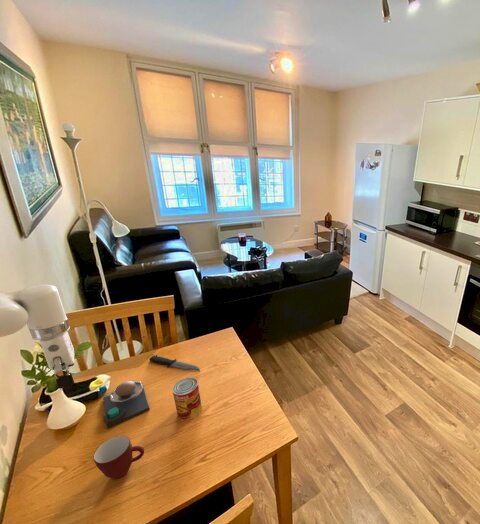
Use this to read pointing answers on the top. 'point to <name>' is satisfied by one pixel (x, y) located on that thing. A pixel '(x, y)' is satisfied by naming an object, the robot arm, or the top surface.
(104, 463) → the mug
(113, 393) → the shallow metal dish
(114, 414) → the tare button
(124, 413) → the scale
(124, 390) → the egg
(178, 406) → the canned food
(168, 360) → the knife
